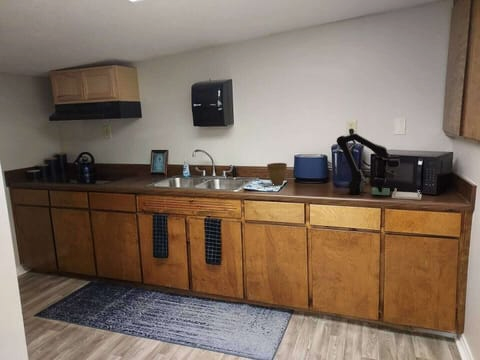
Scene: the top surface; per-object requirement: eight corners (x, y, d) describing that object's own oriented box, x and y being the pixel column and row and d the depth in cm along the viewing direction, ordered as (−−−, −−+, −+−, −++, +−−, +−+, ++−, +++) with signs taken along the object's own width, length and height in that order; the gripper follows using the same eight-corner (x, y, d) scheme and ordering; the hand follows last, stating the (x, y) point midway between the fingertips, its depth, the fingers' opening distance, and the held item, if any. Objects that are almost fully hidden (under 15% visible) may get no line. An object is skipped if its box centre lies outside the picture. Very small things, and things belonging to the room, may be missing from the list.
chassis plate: (391, 197, 217) (392, 192, 216) (393, 193, 227) (393, 187, 227) (421, 199, 210) (421, 193, 209) (421, 194, 220) (421, 189, 220)
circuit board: (371, 194, 225) (371, 189, 224) (372, 192, 230) (372, 187, 229) (388, 195, 220) (388, 190, 220) (389, 193, 226) (389, 188, 225)
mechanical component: (367, 193, 231) (367, 178, 229) (354, 190, 239) (354, 176, 237) (370, 192, 233) (370, 177, 231) (356, 190, 241) (357, 175, 239)
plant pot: (289, 183, 274) (289, 162, 271) (283, 187, 261) (283, 165, 258) (271, 182, 281) (270, 162, 278) (264, 186, 267) (264, 165, 264)
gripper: (394, 169, 210) (393, 195, 213) (396, 164, 226) (395, 188, 229) (374, 169, 215) (373, 194, 218) (377, 164, 231) (377, 187, 234)
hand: (380, 191), depth 225 cm, fingers closed on circuit board, 6 cm apart
